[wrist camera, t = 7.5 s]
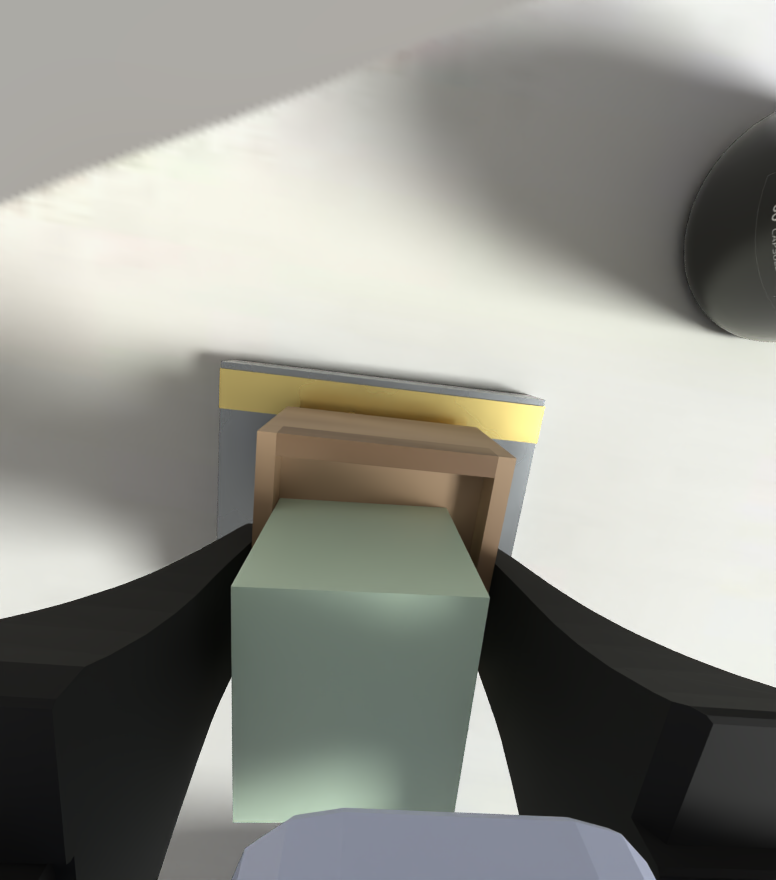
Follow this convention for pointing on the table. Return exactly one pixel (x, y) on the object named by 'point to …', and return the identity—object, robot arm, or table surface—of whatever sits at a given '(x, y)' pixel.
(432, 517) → the pale green block
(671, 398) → the table surface
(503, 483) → the open wooden box
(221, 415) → the dock
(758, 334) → the supplement bottle
